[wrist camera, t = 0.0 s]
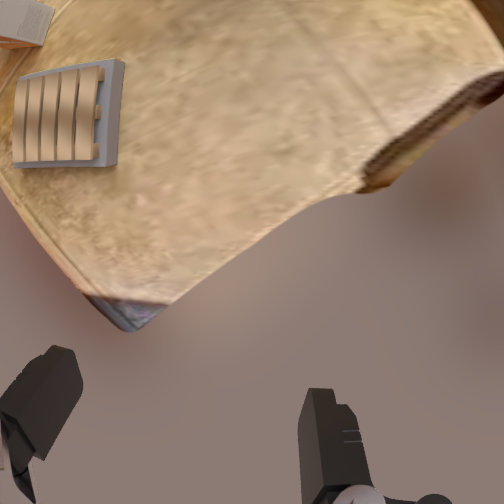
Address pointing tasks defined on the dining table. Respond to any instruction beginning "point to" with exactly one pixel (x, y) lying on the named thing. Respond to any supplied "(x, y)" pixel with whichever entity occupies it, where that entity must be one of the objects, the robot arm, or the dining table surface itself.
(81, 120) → the pallet
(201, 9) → the dining table surface
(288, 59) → the dining table surface
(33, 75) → the rack
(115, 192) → the dining table surface
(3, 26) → the small box
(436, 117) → the dining table surface
